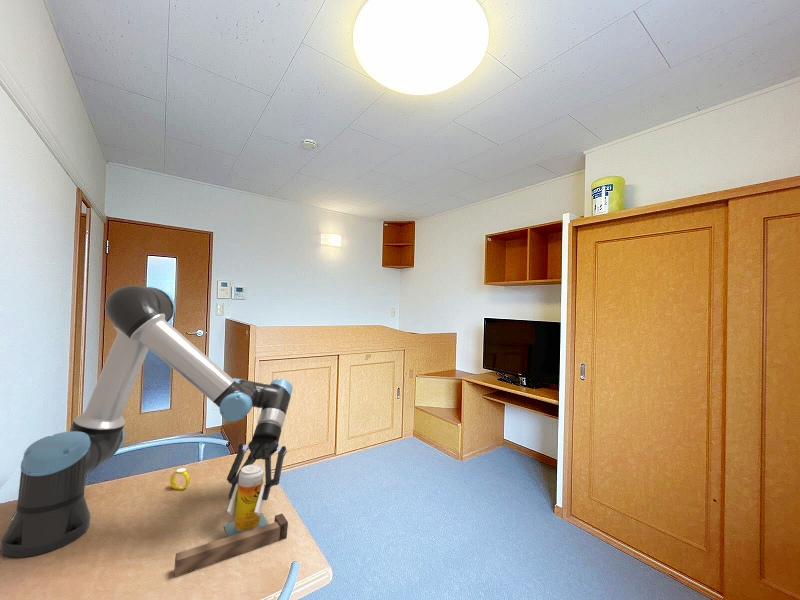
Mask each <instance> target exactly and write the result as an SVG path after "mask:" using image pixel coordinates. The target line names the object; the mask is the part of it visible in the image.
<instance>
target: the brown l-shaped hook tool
mask: <svg viewBox="0 0 800 600" xmlns="http://www.w3.org/2000/svg"><path fill="white" fill-rule="evenodd" d="M273 520H274V522H271V523H268V525H265V526H261V527H258V528H255V529H252V530H249V531H246V532H242V533H239V534H236V535H233V536H230V537H228V536H227V537H224V538H221V539H220V538H219V539H217V540H213V541H211V542H208V543H205V544H203V545H199V546H195V547H193V548H189V549H187V550H183V551H179V552H177V553H175V558H174V569H173V571H174V572H173V573H174V577H175V578H176V577H177V578H178V577H179V576H182V575H186V574H189V573H191V572H193V571H194V572H195V571H196V569H197V570H200V569H202V567H203V568H205V567H208V566H211V565H214V564H215V563H219V562H222V561H225V560H228V559H230V558H233V557H236V556H238V555H242V554H245V553H248V552H250V551H253V550H257V549H259V548H262V547H265V546H267V545H270V544H273V543H276V542H279V541H281V540H284V539H287V537H288V529H289V527H288V526H289V521H288V520H287V518H286V517H285V516H284V514H283V513H279V514H276V515H274V519H273ZM207 565H208V566H207ZM199 568H200V569H199Z"/></svg>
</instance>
